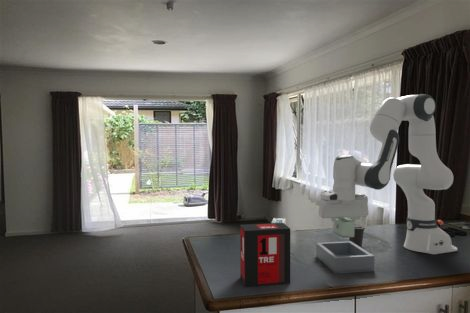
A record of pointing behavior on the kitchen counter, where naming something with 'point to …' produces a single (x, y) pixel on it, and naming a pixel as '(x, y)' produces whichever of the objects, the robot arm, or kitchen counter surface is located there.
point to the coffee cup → (357, 235)
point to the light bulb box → (279, 220)
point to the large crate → (344, 257)
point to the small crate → (344, 227)
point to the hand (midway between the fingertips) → (343, 228)
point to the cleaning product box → (264, 254)
